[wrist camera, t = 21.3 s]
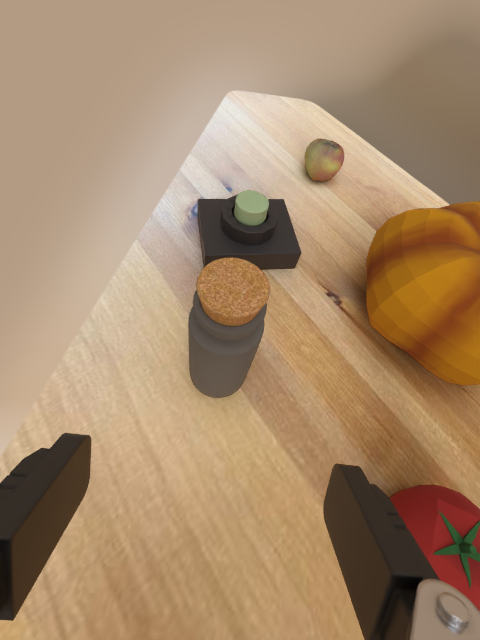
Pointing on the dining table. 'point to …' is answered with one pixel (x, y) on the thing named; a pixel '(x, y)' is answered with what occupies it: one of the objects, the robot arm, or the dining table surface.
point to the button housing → (247, 235)
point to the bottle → (226, 324)
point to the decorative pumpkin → (430, 288)
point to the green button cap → (251, 208)
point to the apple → (323, 159)
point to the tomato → (445, 534)
